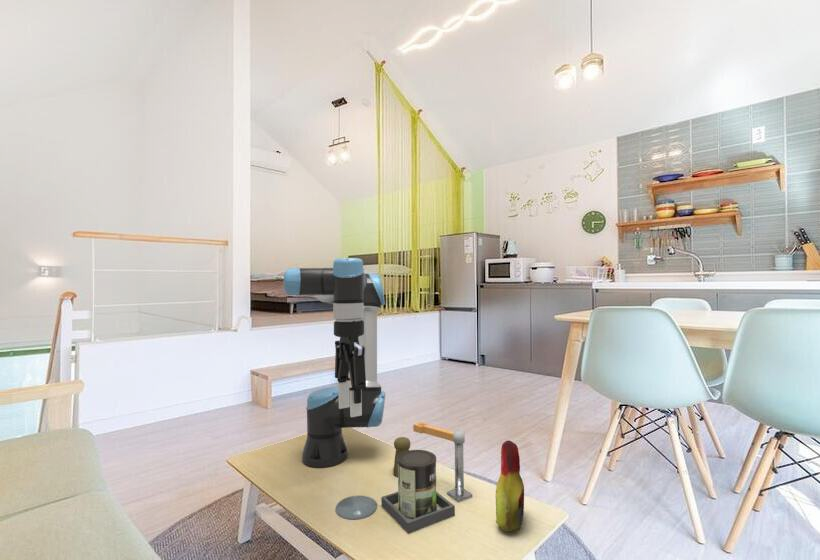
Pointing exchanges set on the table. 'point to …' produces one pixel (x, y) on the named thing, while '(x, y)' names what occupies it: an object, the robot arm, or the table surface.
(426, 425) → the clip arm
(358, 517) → the slate coaster
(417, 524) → the square picture frame
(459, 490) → the post
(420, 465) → the coffee can
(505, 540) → the table surface
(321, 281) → the robot arm
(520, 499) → the bottle
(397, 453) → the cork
